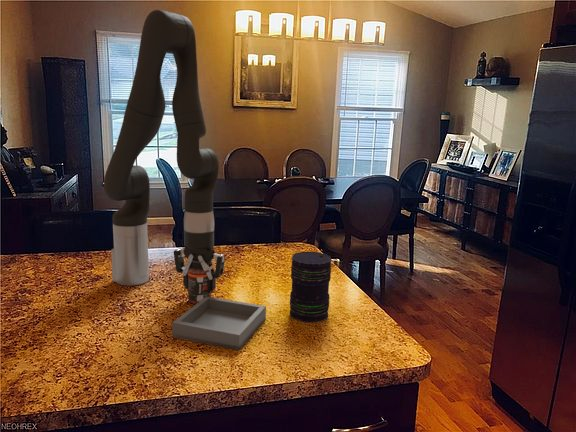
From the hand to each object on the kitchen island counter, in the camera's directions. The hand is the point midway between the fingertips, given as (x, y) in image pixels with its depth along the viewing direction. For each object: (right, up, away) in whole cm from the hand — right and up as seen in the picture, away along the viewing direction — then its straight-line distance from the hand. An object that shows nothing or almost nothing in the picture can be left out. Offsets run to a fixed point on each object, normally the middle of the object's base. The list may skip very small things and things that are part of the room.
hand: (199, 289), depth 122 cm
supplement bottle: (0, -3, +1) cm, 3 cm away
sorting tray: (+8, -7, -14) cm, 17 cm away
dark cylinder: (+28, -6, -5) cm, 29 cm away
